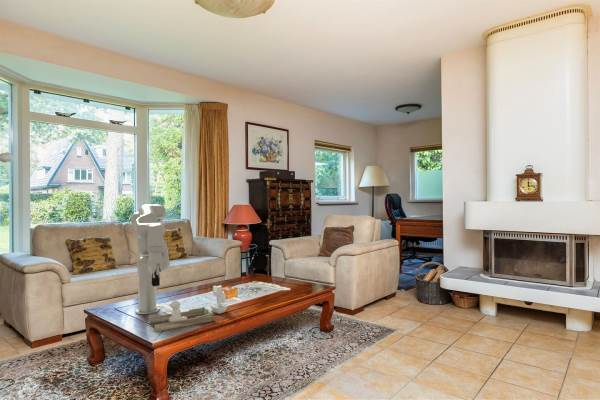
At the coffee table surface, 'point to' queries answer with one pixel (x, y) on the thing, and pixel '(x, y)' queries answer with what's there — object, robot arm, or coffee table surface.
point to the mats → (156, 324)
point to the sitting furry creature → (176, 312)
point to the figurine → (219, 300)
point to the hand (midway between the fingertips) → (155, 285)
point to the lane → (192, 312)
